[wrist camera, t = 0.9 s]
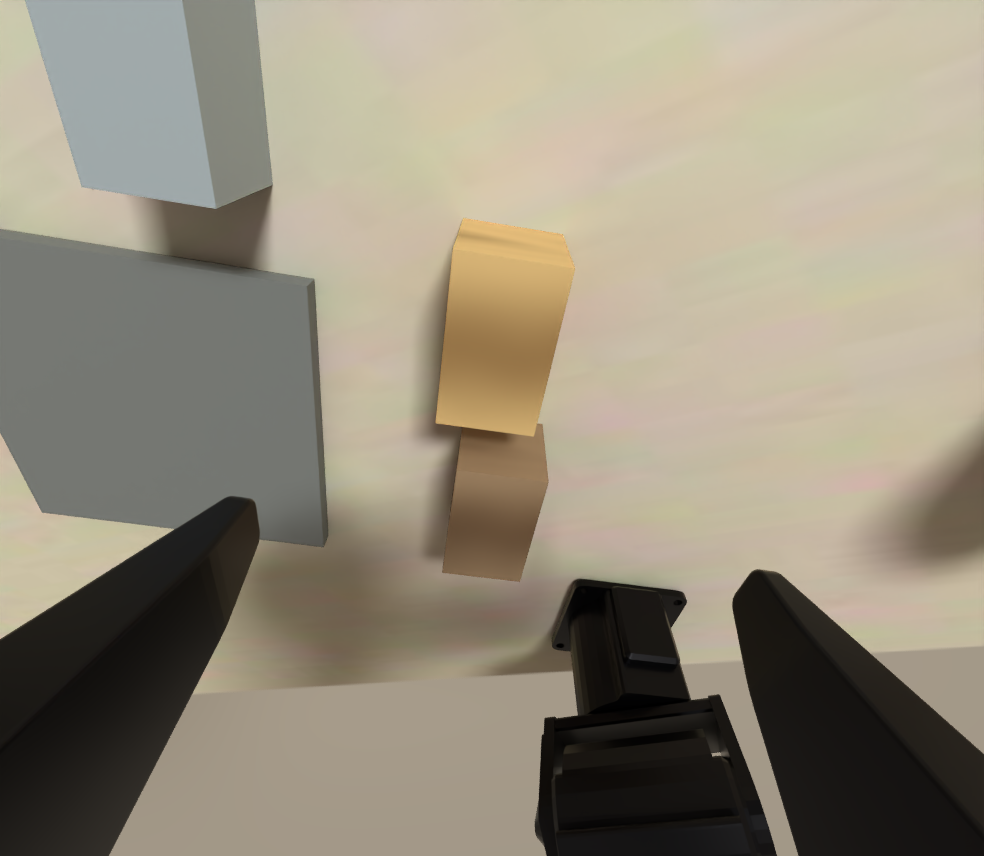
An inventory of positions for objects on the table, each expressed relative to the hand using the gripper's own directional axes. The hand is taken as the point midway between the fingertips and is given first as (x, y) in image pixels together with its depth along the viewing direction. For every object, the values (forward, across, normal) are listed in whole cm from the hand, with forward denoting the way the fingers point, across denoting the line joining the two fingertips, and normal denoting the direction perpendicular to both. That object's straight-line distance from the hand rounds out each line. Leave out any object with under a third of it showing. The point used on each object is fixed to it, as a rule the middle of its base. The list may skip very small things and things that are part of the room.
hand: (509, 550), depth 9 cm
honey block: (+12, 0, 0) cm, 12 cm away
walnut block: (+12, -1, +8) cm, 15 cm away
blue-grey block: (+12, +10, -6) cm, 17 cm away
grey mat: (+12, +14, +7) cm, 20 cm away
